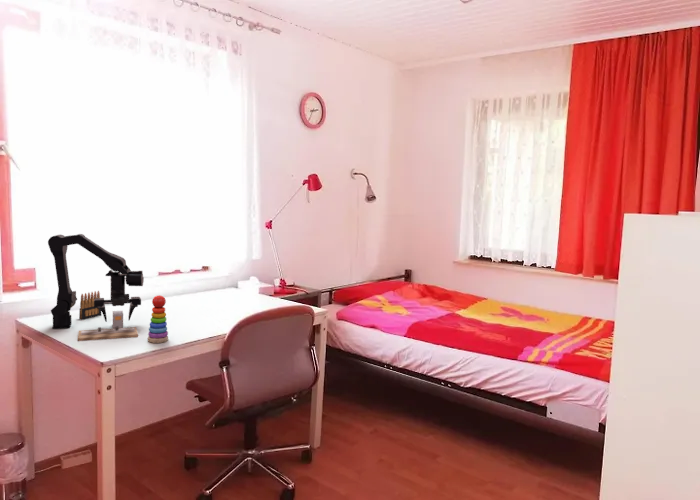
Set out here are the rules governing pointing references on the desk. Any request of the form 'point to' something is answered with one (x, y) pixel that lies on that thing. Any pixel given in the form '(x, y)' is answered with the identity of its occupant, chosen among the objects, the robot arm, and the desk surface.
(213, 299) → the desk surface
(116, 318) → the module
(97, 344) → the desk surface
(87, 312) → the ammunition clip
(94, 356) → the desk surface
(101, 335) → the rail base
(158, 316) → the stacking toy
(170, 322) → the desk surface
